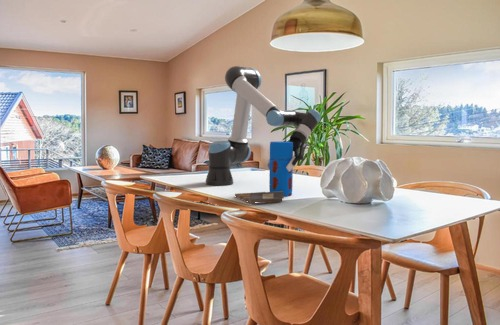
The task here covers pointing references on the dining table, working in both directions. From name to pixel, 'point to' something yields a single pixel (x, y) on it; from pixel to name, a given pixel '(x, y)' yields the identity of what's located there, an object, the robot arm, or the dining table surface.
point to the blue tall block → (281, 167)
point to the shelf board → (261, 196)
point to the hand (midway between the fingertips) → (277, 168)
